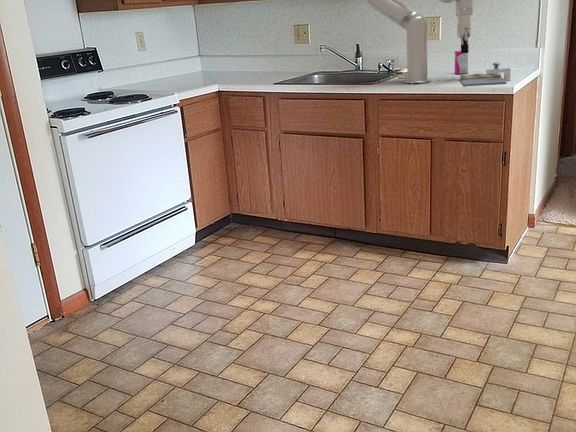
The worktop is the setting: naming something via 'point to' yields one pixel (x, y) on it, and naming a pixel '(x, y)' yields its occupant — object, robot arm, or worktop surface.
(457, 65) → the supplement box
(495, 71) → the keeper
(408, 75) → the robot arm
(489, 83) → the base plate
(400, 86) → the worktop surface
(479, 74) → the link
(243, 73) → the worktop surface
